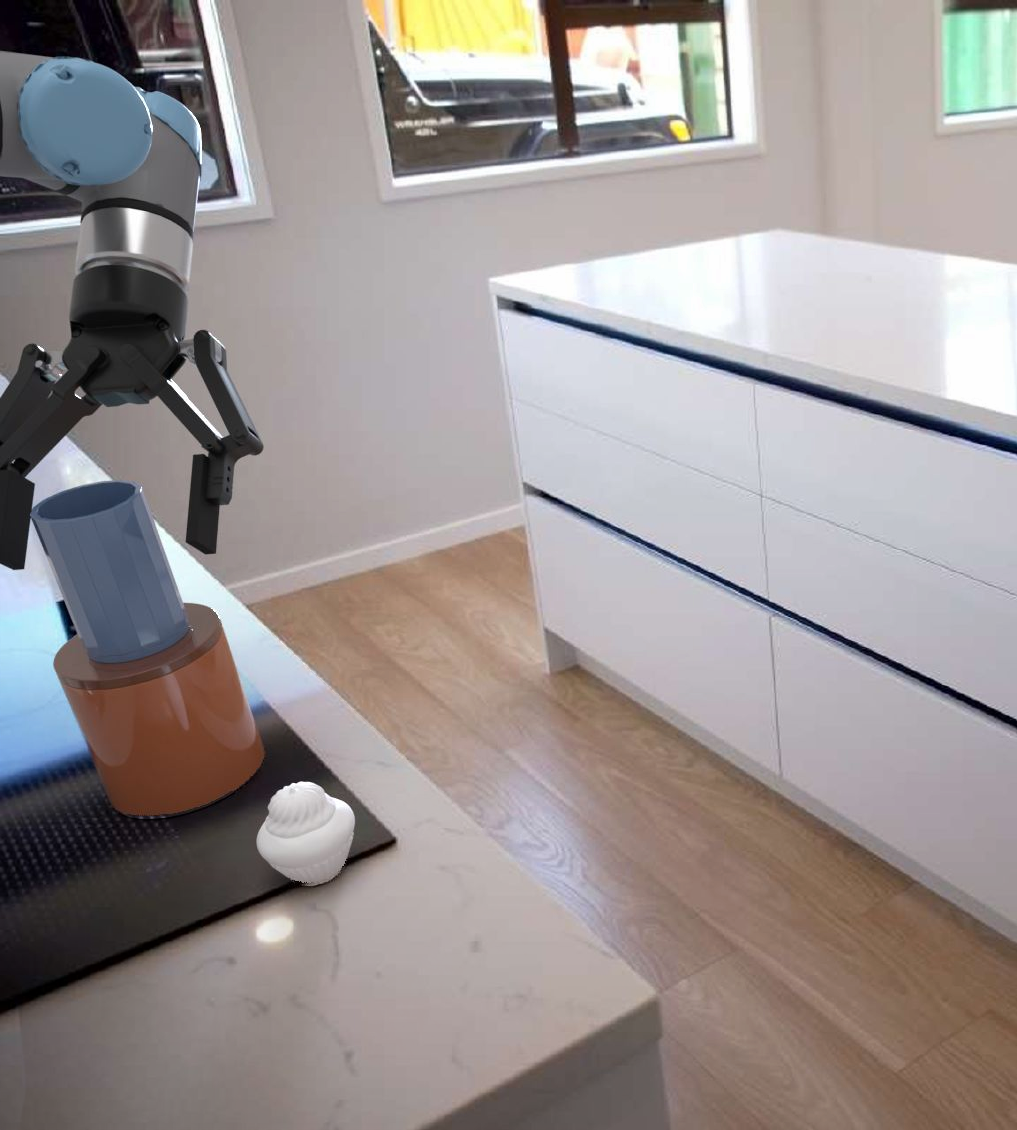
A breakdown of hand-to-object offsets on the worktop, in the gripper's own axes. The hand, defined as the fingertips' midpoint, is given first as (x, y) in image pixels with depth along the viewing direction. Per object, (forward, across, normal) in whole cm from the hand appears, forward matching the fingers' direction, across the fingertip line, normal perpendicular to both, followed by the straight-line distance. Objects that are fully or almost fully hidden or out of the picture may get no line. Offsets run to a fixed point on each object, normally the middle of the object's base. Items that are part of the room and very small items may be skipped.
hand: (103, 556), depth 89 cm
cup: (+5, 0, -5) cm, 7 cm away
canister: (+13, 0, -14) cm, 19 cm away
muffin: (+22, -14, -5) cm, 27 cm away
